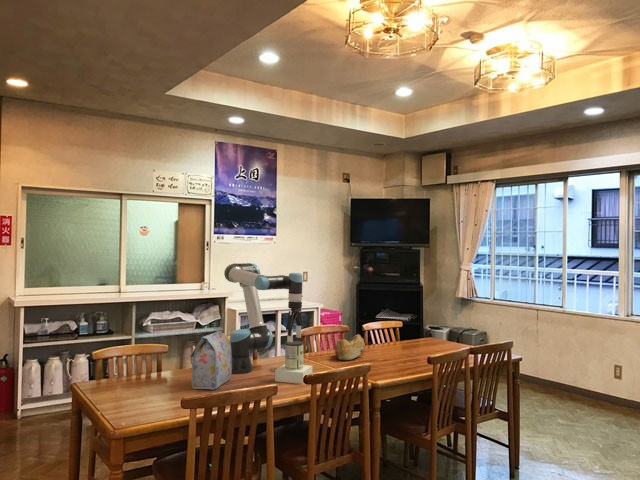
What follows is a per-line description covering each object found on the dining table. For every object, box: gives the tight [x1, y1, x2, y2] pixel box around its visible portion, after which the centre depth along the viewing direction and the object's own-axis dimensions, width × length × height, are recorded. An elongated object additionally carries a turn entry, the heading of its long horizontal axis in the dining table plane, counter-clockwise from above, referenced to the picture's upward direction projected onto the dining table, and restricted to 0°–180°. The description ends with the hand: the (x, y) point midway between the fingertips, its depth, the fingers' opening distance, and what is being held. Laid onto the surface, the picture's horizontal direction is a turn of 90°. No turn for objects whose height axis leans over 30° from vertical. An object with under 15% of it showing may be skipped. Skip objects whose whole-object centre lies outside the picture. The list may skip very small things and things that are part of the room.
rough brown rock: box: [334, 333, 366, 361], centre depth 321 cm, size 23×17×15 cm
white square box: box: [274, 363, 313, 385], centre depth 266 cm, size 16×16×6 cm
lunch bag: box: [189, 330, 233, 391], centre depth 253 cm, size 22×17×26 cm
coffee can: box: [284, 340, 304, 370], centre depth 266 cm, size 10×10×14 cm
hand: (294, 339), depth 266 cm, fingers open, 13 cm apart
